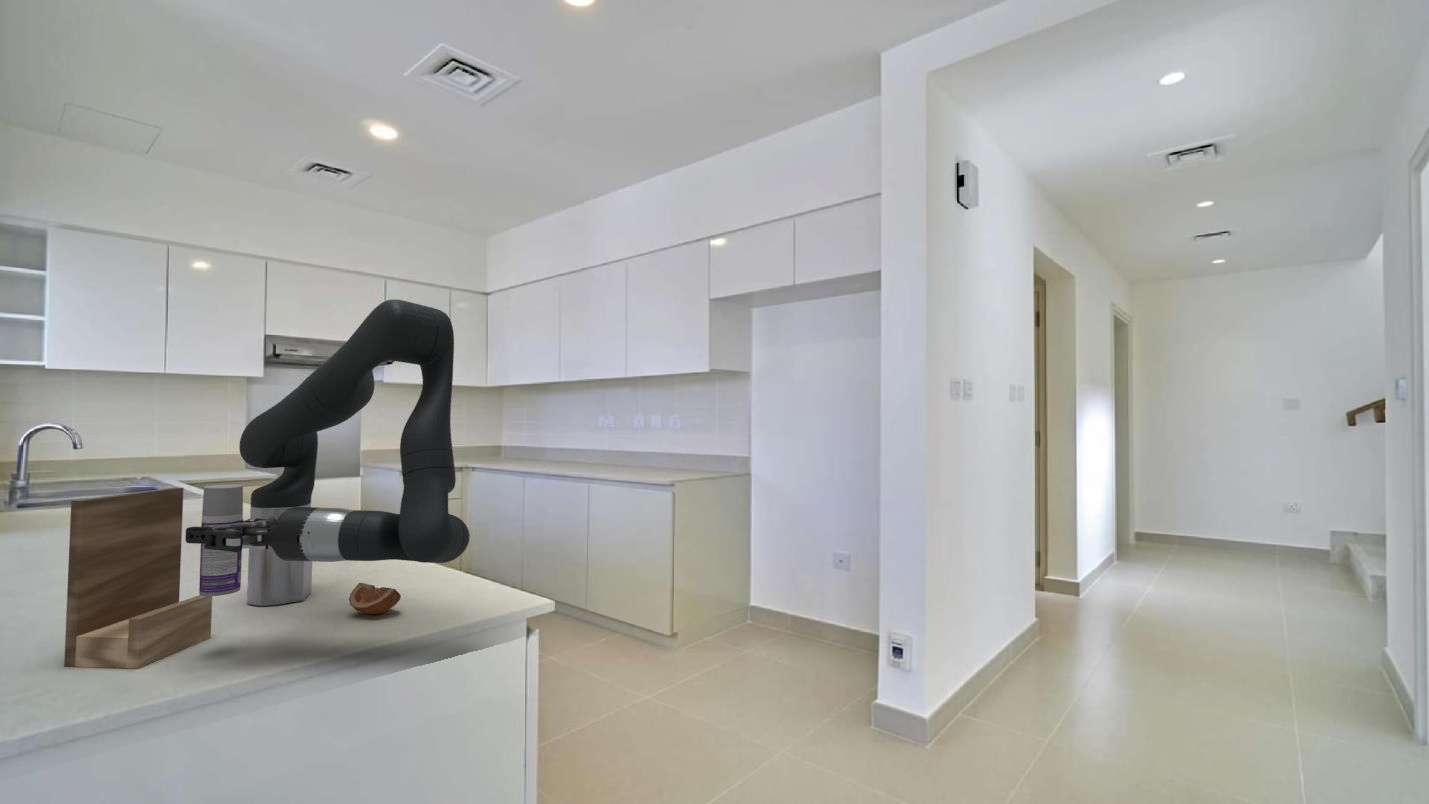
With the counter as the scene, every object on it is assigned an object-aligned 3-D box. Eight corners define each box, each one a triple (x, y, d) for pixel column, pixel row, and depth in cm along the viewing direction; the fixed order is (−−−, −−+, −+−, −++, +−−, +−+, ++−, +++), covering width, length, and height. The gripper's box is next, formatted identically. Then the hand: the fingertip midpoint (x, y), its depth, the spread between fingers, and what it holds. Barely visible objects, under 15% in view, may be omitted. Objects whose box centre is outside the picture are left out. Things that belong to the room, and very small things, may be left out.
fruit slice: (408, 612, 111) (409, 583, 111) (375, 623, 105) (376, 593, 105) (373, 606, 114) (374, 578, 114) (339, 617, 108) (340, 587, 108)
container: (214, 587, 93) (217, 484, 94) (248, 587, 94) (251, 484, 94) (190, 596, 89) (194, 488, 89) (226, 596, 89) (230, 488, 89)
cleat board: (231, 628, 101) (236, 488, 102) (137, 668, 85) (144, 502, 86) (168, 627, 101) (174, 487, 102) (64, 666, 85) (71, 500, 86)
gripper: (351, 500, 98) (241, 498, 99) (287, 516, 84) (159, 512, 84) (349, 550, 98) (240, 547, 98) (285, 573, 84) (157, 570, 84)
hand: (203, 531), depth 91 cm, fingers closed on container, 4 cm apart
